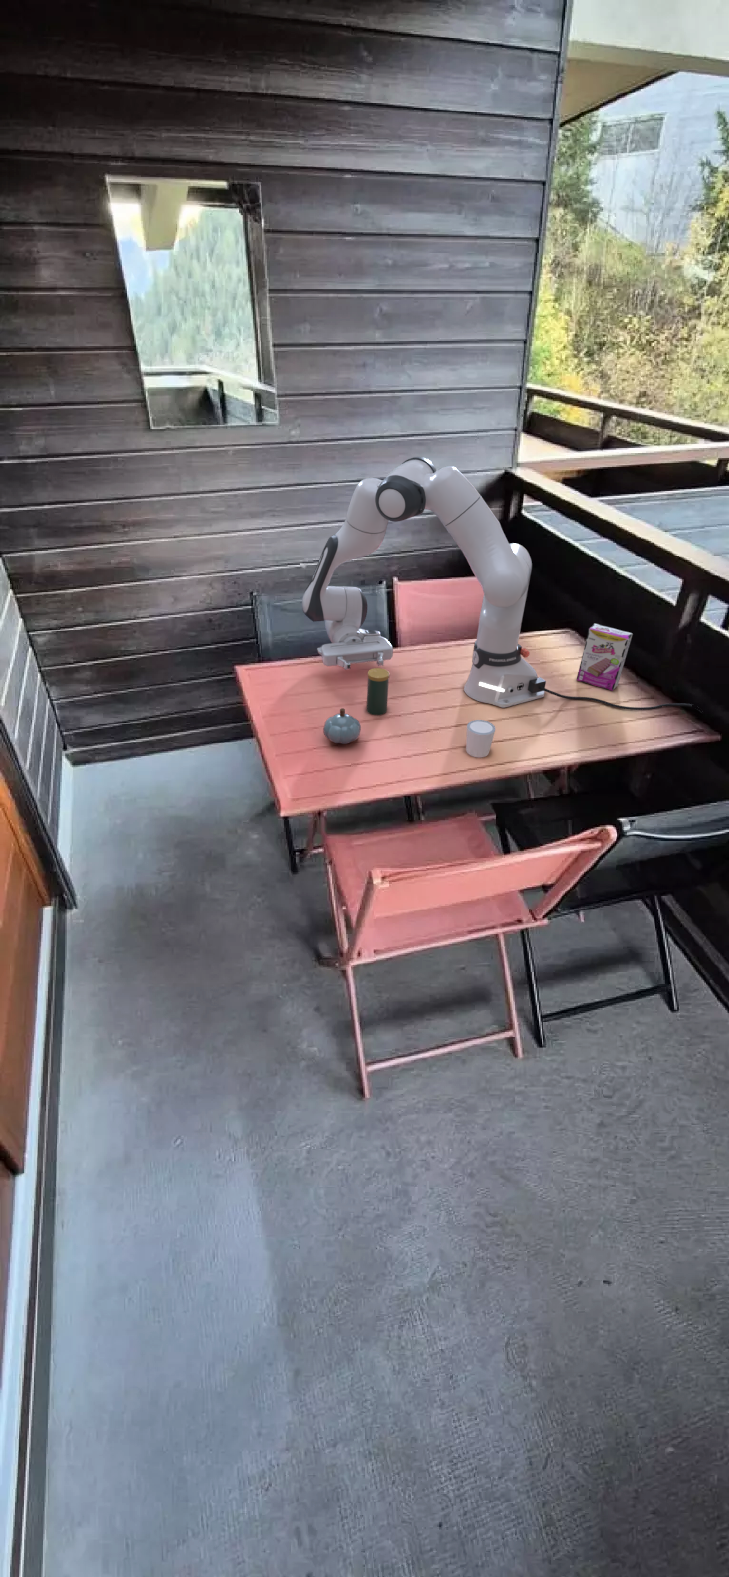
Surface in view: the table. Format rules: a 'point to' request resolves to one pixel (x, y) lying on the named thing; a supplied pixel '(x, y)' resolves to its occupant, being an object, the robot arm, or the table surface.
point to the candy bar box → (604, 656)
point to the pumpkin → (342, 728)
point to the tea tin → (377, 691)
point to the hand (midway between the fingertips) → (364, 665)
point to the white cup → (479, 738)
